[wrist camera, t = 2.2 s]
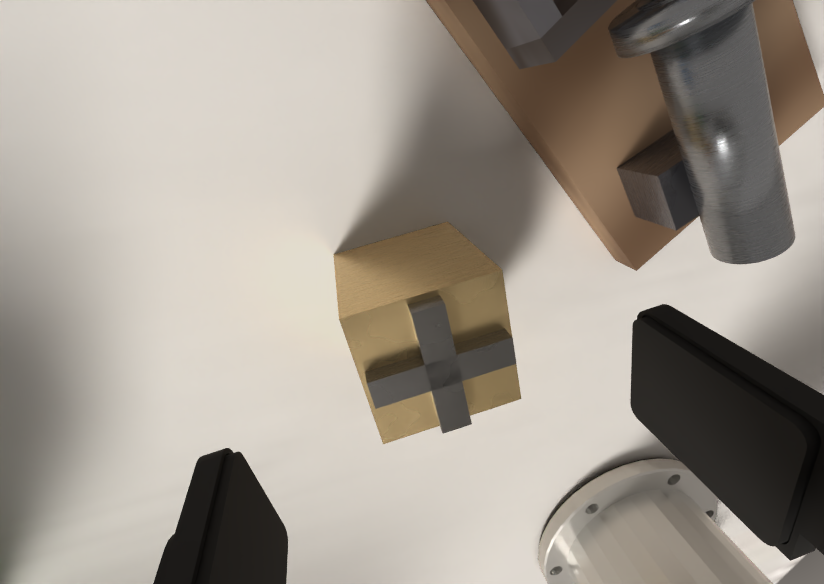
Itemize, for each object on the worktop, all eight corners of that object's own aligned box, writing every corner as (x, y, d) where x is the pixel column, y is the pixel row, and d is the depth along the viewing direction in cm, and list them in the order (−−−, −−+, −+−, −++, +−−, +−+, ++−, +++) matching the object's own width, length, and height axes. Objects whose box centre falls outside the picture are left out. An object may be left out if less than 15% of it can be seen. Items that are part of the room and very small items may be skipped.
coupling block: (447, 221, 18) (510, 276, 12) (467, 320, 20) (528, 409, 14) (333, 254, 17) (339, 328, 12) (366, 351, 20) (385, 457, 14)
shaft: (535, 49, 16) (678, 8, 9) (626, -17, 16) (835, -103, 9) (614, 236, 20) (752, 296, 13) (688, 186, 19) (865, 223, 13)
